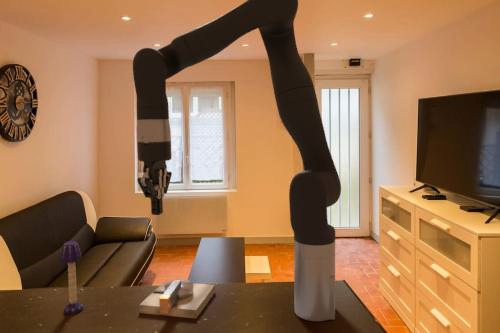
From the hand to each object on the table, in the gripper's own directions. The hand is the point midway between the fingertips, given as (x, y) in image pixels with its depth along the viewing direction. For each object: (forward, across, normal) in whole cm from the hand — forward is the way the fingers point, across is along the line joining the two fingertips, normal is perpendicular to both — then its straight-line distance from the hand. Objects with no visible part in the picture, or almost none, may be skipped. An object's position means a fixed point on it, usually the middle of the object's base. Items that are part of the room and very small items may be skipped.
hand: (157, 214), depth 88 cm
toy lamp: (+23, +5, -20) cm, 31 cm away
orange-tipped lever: (+21, 0, +3) cm, 21 cm away
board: (+23, -4, +3) cm, 24 cm away
